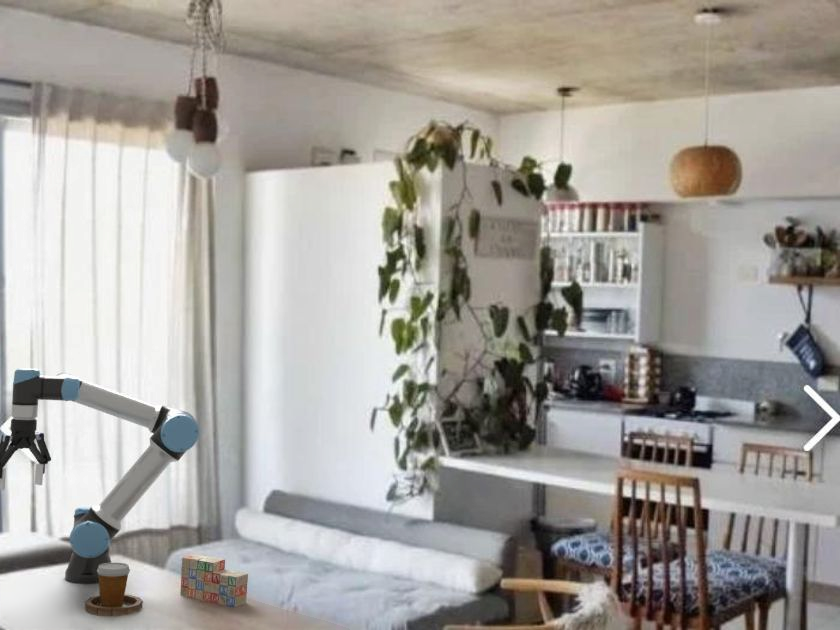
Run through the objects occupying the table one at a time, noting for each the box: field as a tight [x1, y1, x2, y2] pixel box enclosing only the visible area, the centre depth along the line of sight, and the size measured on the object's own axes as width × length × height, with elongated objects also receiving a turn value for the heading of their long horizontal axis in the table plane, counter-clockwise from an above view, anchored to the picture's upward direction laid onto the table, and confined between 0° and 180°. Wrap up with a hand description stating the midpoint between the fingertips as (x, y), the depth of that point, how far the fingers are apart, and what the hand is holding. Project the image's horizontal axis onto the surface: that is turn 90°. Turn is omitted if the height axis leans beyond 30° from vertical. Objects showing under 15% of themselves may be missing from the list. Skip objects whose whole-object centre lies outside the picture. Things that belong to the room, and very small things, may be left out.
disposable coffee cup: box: [97, 562, 131, 607], centre depth 310 cm, size 10×10×12 cm
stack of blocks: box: [179, 553, 249, 608], centre depth 324 cm, size 21×6×12 cm, turn 63°
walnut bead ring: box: [84, 593, 144, 617], centre depth 308 cm, size 16×16×2 cm
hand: (20, 486), depth 322 cm, fingers open, 13 cm apart
